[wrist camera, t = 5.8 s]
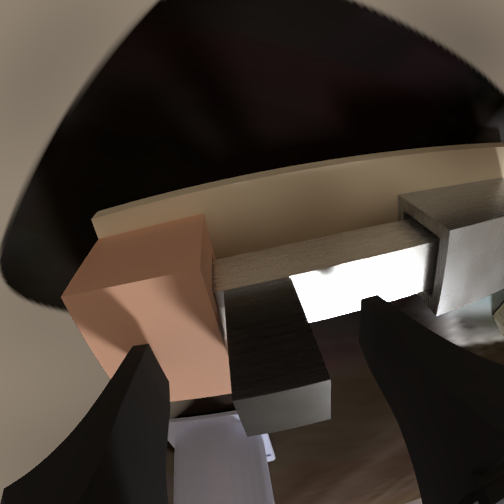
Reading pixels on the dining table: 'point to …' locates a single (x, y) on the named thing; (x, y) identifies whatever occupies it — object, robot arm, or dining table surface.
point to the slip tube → (307, 312)
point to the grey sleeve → (461, 240)
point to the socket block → (155, 304)
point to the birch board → (307, 197)
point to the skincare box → (500, 318)
